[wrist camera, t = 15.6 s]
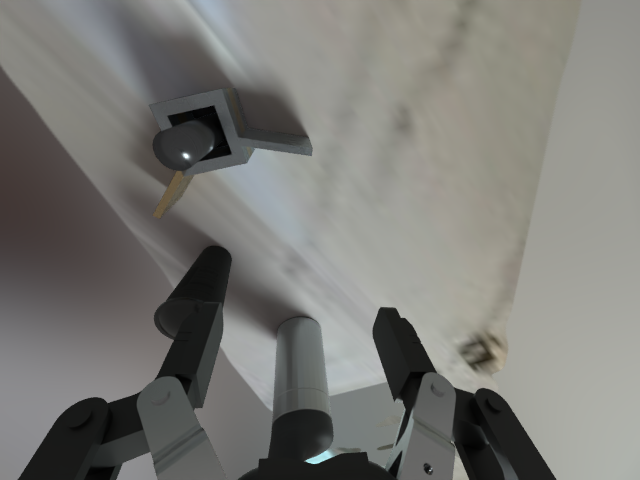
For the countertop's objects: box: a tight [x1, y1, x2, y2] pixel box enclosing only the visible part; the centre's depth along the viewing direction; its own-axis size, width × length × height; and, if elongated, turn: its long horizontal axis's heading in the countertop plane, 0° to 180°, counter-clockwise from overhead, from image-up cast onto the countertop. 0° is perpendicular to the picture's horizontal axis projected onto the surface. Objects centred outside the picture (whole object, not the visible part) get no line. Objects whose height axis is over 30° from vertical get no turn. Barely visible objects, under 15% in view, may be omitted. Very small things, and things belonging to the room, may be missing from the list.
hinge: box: [149, 88, 313, 219], centre depth 30 cm, size 11×20×7 cm, turn 101°
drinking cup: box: [154, 246, 232, 340], centre depth 34 cm, size 8×8×20 cm
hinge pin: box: [153, 112, 226, 171], centre depth 26 cm, size 3×3×14 cm
